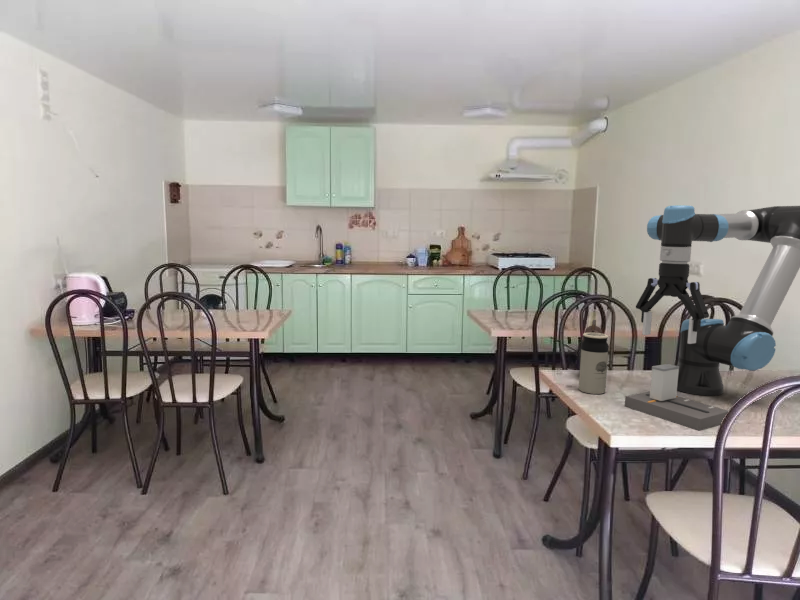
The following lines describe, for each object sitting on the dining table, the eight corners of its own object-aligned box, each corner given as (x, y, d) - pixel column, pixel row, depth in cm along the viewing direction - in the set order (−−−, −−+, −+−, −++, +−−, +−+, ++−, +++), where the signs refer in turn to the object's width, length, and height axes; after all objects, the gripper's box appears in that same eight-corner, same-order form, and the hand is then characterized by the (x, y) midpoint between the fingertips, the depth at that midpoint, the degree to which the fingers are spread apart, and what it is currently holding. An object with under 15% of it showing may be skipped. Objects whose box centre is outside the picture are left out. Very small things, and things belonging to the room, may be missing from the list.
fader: (649, 397, 156) (651, 366, 155) (664, 394, 159) (667, 363, 158) (660, 401, 153) (663, 369, 152) (676, 397, 156) (679, 366, 155)
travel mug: (574, 387, 177) (578, 332, 175) (598, 387, 178) (602, 332, 176) (585, 394, 169) (589, 337, 167) (609, 394, 170) (614, 337, 168)
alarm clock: (579, 371, 199) (583, 316, 196) (600, 373, 196) (604, 317, 193) (576, 381, 185) (580, 322, 183) (599, 383, 182) (604, 324, 180)
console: (624, 406, 159) (625, 395, 158) (654, 399, 166) (655, 389, 166) (699, 430, 140) (700, 418, 140) (729, 422, 147) (730, 410, 147)
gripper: (626, 260, 160) (621, 332, 163) (712, 265, 139) (704, 348, 141) (642, 259, 164) (637, 330, 167) (728, 265, 143) (720, 345, 145)
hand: (668, 338), depth 154 cm, fingers open, 13 cm apart
